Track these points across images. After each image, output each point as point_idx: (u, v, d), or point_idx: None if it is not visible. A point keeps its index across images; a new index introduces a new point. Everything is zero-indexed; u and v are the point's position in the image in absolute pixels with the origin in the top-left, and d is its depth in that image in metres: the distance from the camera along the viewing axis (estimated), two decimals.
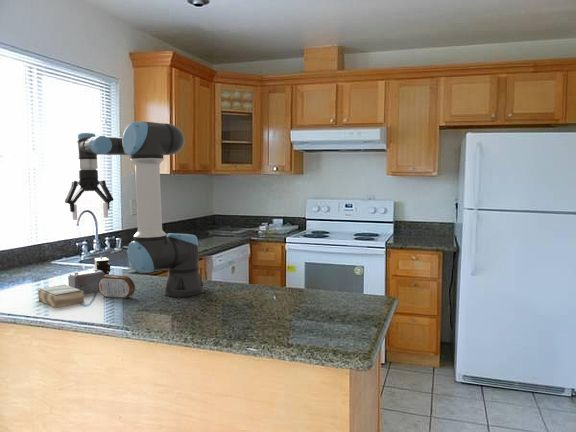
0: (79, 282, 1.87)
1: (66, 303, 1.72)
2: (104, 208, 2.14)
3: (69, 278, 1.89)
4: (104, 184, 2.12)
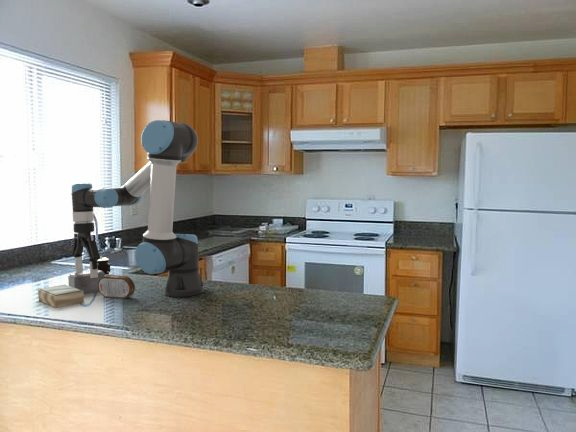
0: (79, 282, 1.87)
1: (66, 303, 1.72)
2: None
3: (69, 278, 1.89)
4: (88, 240, 1.85)
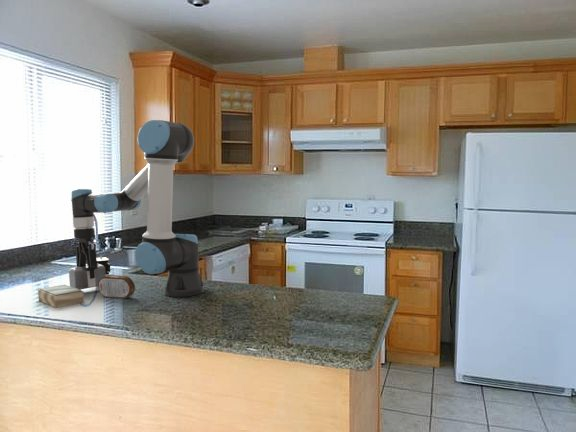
0: (79, 276, 1.86)
1: (66, 303, 1.72)
2: None
3: (70, 272, 1.89)
4: (88, 248, 1.86)
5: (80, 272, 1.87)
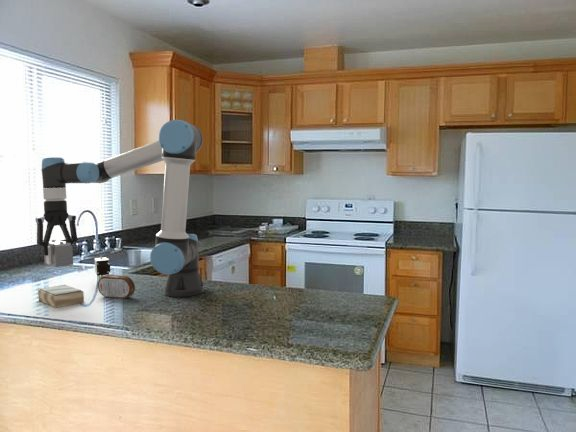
0: None
1: (66, 303, 1.72)
2: None
3: (58, 248, 1.71)
4: (73, 220, 1.79)
5: None
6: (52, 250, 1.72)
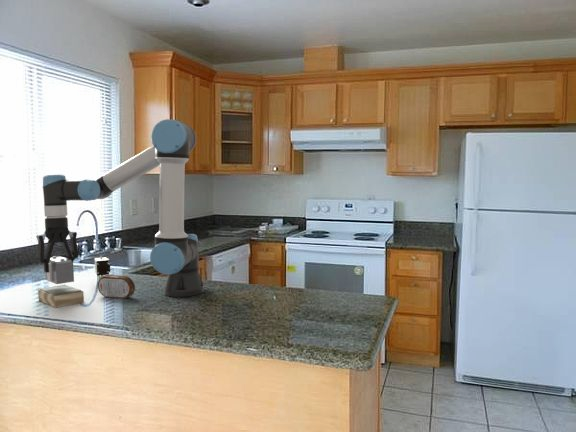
0: None
1: (66, 303, 1.72)
2: None
3: (59, 266, 1.71)
4: (74, 236, 1.80)
5: None
6: (53, 267, 1.73)
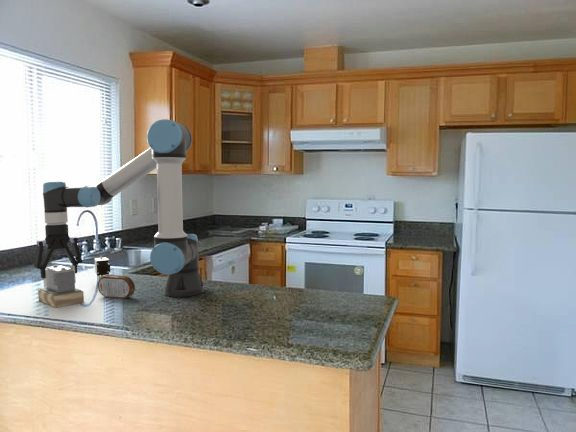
0: None
1: (66, 303, 1.72)
2: None
3: (60, 275, 1.72)
4: (75, 242, 1.80)
5: None
6: (54, 276, 1.73)
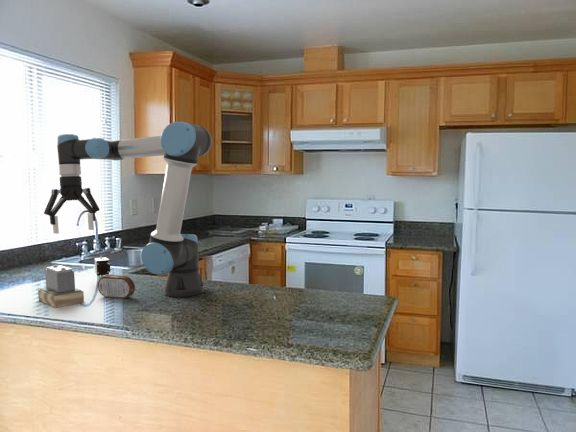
0: None
1: (66, 303, 1.72)
2: (89, 219, 1.89)
3: (60, 275, 1.72)
4: (89, 192, 1.87)
5: None
6: (54, 276, 1.73)
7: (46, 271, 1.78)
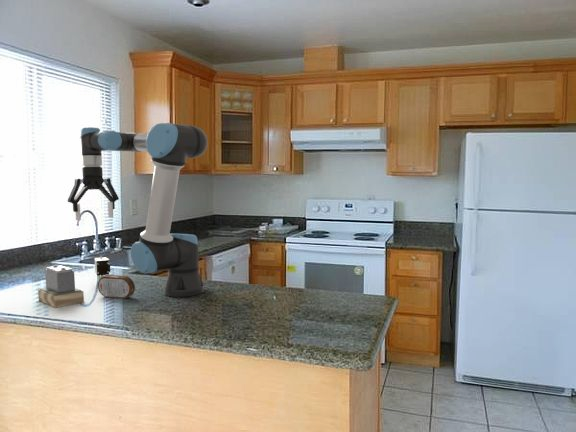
0: None
1: (66, 303, 1.72)
2: (109, 208, 2.01)
3: (60, 275, 1.72)
4: (109, 182, 1.99)
5: None
6: (54, 276, 1.73)
7: (46, 271, 1.78)
